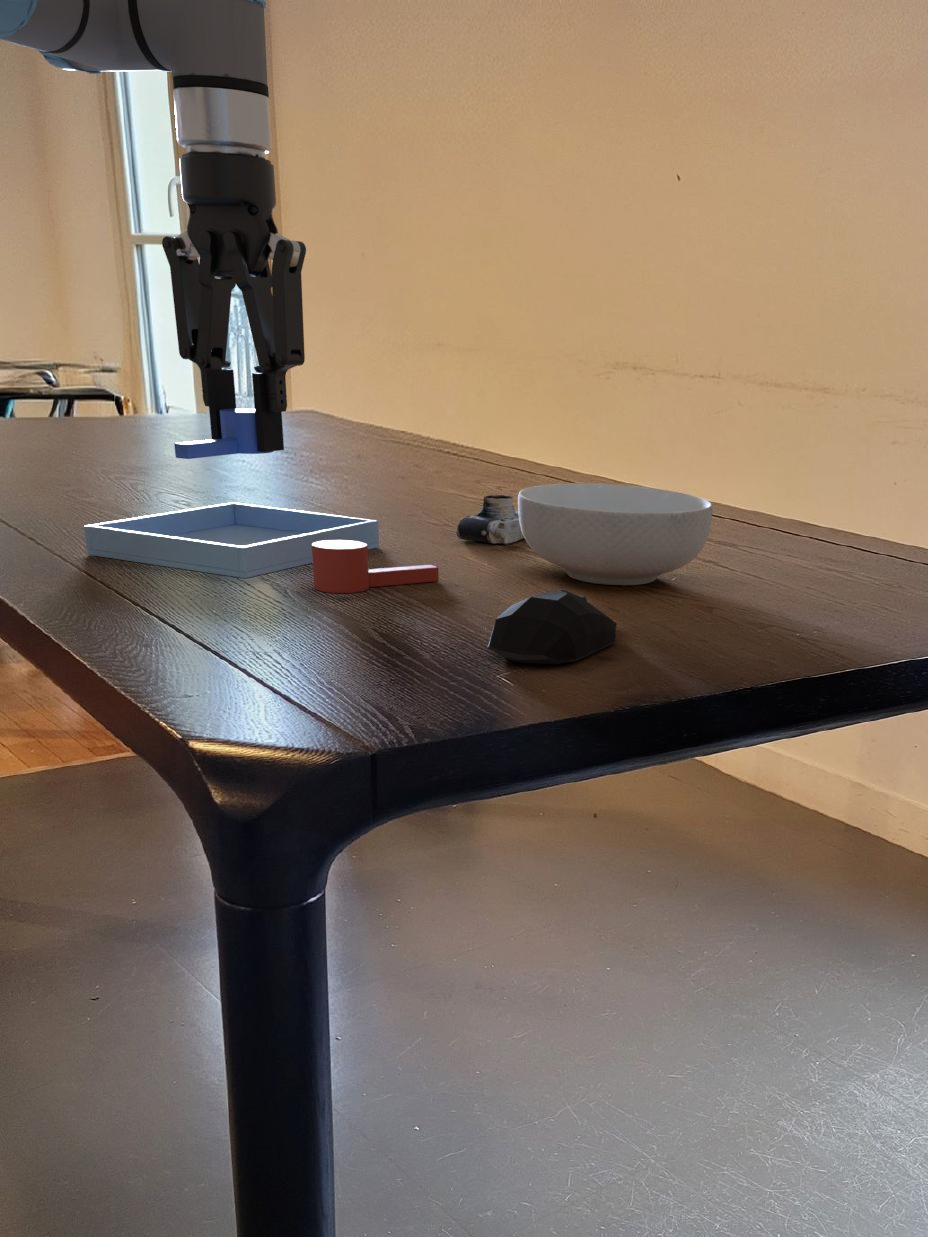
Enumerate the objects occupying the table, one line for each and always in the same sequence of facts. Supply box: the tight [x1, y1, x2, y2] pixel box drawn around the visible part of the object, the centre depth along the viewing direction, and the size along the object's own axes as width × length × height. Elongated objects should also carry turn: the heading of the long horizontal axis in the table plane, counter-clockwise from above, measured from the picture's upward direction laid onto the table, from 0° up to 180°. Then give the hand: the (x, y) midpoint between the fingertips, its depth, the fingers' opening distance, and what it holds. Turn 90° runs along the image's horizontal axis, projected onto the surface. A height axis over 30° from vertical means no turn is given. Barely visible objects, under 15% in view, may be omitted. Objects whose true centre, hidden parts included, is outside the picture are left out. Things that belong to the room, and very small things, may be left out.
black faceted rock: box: [487, 589, 617, 665], centre depth 90 cm, size 6×15×4 cm, turn 154°
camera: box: [455, 494, 525, 545], centre depth 131 cm, size 5×10×4 cm, turn 152°
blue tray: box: [83, 502, 380, 579], centre depth 118 cm, size 17×19×2 cm
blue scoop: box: [174, 407, 274, 460], centre depth 113 cm, size 11×4×4 cm, turn 156°
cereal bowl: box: [517, 482, 714, 586], centre depth 114 cm, size 17×17×7 cm
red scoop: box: [312, 540, 440, 594], centre depth 106 cm, size 11×4×4 cm, turn 126°
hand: (248, 447), depth 116 cm, fingers closed on blue scoop, 4 cm apart
